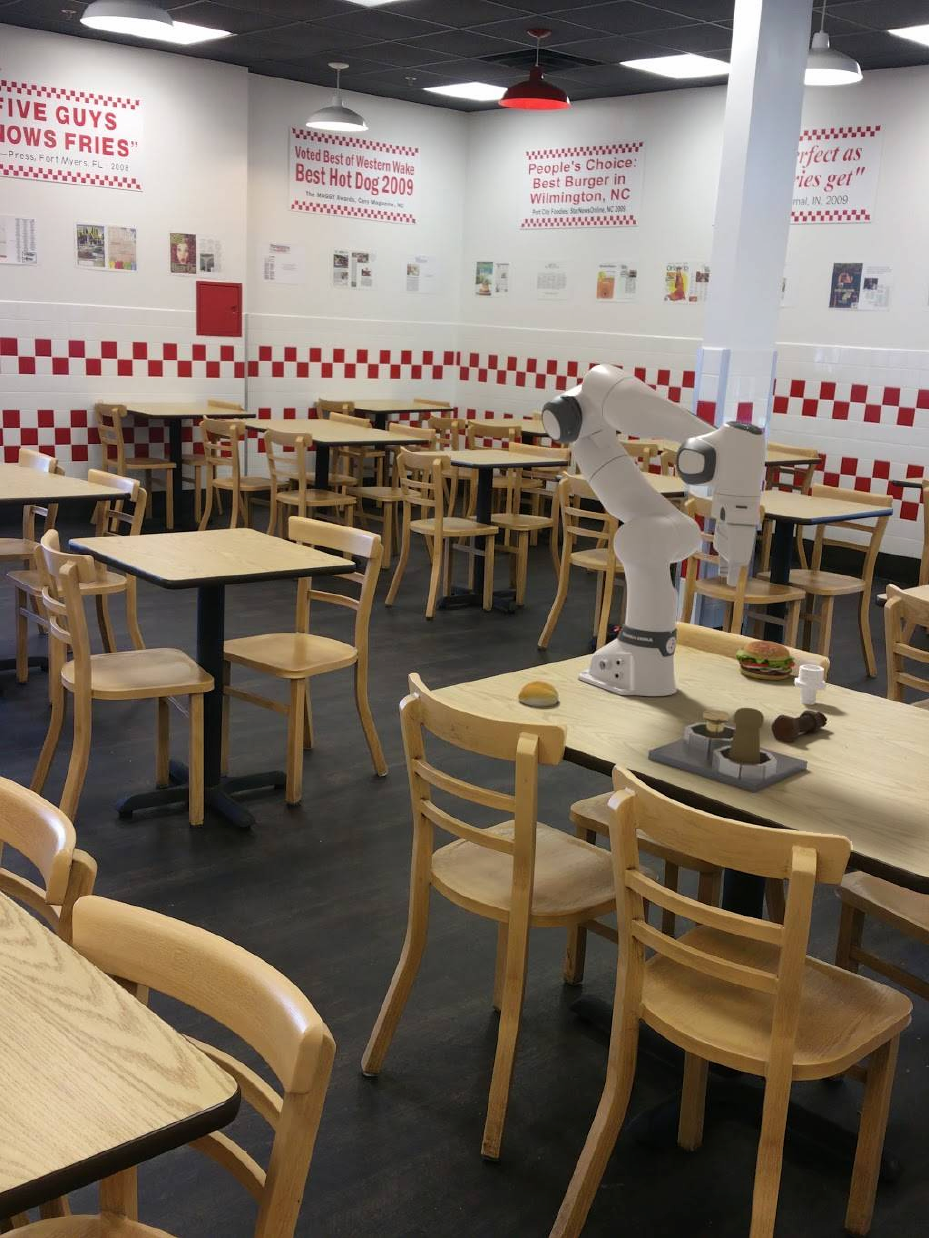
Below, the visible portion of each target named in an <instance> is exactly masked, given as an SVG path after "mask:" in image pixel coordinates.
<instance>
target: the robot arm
mask: <svg viewBox="0 0 929 1238" xmlns="http://www.w3.org/2000/svg"><path fill="white" fill-rule="evenodd" d="M540 417H541V423H542V426H543V429H544V431H545V432H546V434H547V435H548V437H549V438H550V439H551V440H552V441H553V442H555V443H557V444H558V445H559V444H560V445H563V444H571V443H572V445H571V453H572V456H573V458H574V460H575V463H576V465H577V467H578V469H579V470H580V473H581V474H582V477H584V479H585V481H586V483H587V484H588V485H589V487H590V488H591V490H592V491H593V492H594V494H595V496H596V497H597V499H599V501H600V503H601V504H602V506H603V507H604V509H605V510H606V512H607V513H608V514H609V515H611V516H613V517H614V518H616V519H617V520H619V521H621V522H622V523H624V524H621V525H620V526H619V527H618V529H617V530H616V532H615V533H614V536H613V542H612V543H613V545H612V547H613V551H614V554H615V556H616V557H617V559H618V560H619V561H620V562H621V564H622V567H623V571H624V574H625V579H626V589H627V592H626V593H627V594H626V595H627V597H626V611H625V620H624V621H625V622H623V623H620V625H617V626H614V628H616V629H614V633H615V632H618V634H617V637H616V638H615V639H613V640H612V641H610V642H609V643H607V644H605V645H604V646H603V647H601V648H599V649H597V650H596V651H595V652H594V653H593V654H592V656H591V658H590V659H591V660H590V663H589V666H588V667H589V668H587V669H584V670H582V671H581V672H579V673H578V677H577V679H578V680H581V681H583V682H584V683H585V682H586V683H588V684H591V685H594V686H596V687H599V688H602V689H605V690H607V691H610V692H612V693H615V694H618V695H620V696H645V697H664V696H671V695H673V694H676V693H677V692H678V689H677V685H676V677H675V662H674V660H675V659H674V658H675V655H674V654H675V652H676V648H677V647H676V646H677V638H678V629H677V626H676V624H677V617H678V616H677V615H678V608H679V607H678V604H679V594H678V591H677V589H676V588H675V587H674V585H673V582H672V576H671V570H670V567H671V564H674V563H679V562H682V561H684V560H685V559H687V558H689V557H691V556H692V555H694V554H695V553H696V552H697V551H698V549H699V548H700V545H701V542H702V531H701V528H700V525H699V524H698V522H697V521H696V520H695V519H694V518H692V517H690V516H689V515H687V514H685V513H684V512H682V511H680V510H679V509H678V508H677V507H676V506H675V505H674V504H673V503H672V502H671V501H669V500H668V499H667V498H666V497H665V496H664V495H663V494H662V493H660V492H659V491H658V490H657V489H656V488H655V487H654V486H653V485H652V484H651V483H650V481H649V480H648V478H647V477H646V476H645V475H644V473H643V472H642V471H641V469H640V468H639V466H638V465H637V464H636V462H635V460H634V459H633V458H632V456H631V455H630V454H629V453H628V451H627V450H626V449H625V448H624V446H623V445H622V444H621V442H620V440H619V439H618V435H617V431H618V432H620V433H622V434H624V435H627V436H630V437H634V438H639V439H651V440H652V439H655V440H665V441H670V442H675V443H679V444H680V446H679V447H678V449H677V452H676V456H675V468H676V472H677V475H678V476H679V478H680V480H681V481H683V482H684V483H685V484H686V485H691V486H694V487H713V490H712V491H713V492H712V500H711V501H712V502H711V510H710V516H711V517H712V518H715V519H716V520H715V527H714V534H713V542H712V543H713V544H712V545H713V549H714V550H715V552H717V553H718V574H717V575H718V576H719V577H721V578H726V585H728V586H729V587H737V586H738V583H739V578H740V577H739V576H740V573H741V570H742V566H744V567H745V566H746V567H747V566H748V565H749V563H750V561H751V559H752V553H753V548H754V544H755V537H756V526H759V525H760V523H761V513H760V507H761V506H760V505H761V499H762V498H761V497H762V490H761V479H762V478H763V475H764V471H765V462H766V439H765V438H766V437H765V433H764V431H763V429H761V428H760V427H759V426H757V425H755V424H753V423H748V422H743V421H738V420H732V421H726V422H724V423H723V424H722V425H721V426H720V427H717V426H716V425H714V424H712V423H711V422H708V421H707V420H705V419H704V418H702V417H700V416H699V415H697V414H695V413H693V412H691V411H690V410H688V409H685V408H684V407H682V406H680V405H679V404H678V403H676V402H674V400H673V401H672V400H671V399H669V398H668V397H666V396H664V395H663V394H661V393H660V392H659V391H657V390H656V389H654V388H652V387H651V386H650V385H649V384H647V383H646V382H644V381H642V380H641V379H640V378H639V377H637V376H635V375H634V374H631V372H628V371H626V370H624V369H623V368H620V367H617V366H615V365H613V364H612V365H611V364H608V363H601V364H599V365H598V364H597V365H595V366H594V367H592V368H590V369H589V370H588V371H587V372H586V374H585V375H584V377H583V380H582V382H581V383H579V384H578V385H576V386H574V387H572V388H570V389H568V390H566V391H565V392H562V393H561V394H560V395H559V394H558V395H555V396H553V397H552V398H551V399H549V400H548V401H547V402H546V403H545V404H544V405H543V406H542V410H541V416H540Z"/></svg>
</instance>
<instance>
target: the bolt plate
mask: <svg viewBox="0 0 929 1238" xmlns="http://www.w3.org/2000/svg"><path fill="white" fill-rule="evenodd" d="M702 718H703V719H704V720H705V721H706V722H695V723H692V724H688V725H686V726H685V727H684V733H683V738H681V739H678V740H674V741H672V742H670V743H667V744H664V745H662V746H659V747H656V748H653V749H649V750H648V755H647V759H648V760H652V761H654V762H657V763H660V764H663V765H667V766H670V767H674V768H676V769H678V770H682V771H685V772H688V773H692V774H695V775H698V776H701V777H704V778H708V779H710V780H713V781H717V782H720V783H724V784H726V785H730V786H733V787H735V788H739V789H742V790H746V791H747V792H752V793H757V792H759V791H761V790H763V789H766V788H768V787H770V786H773V785H775V784H777V783H779V782H781V781H784V780H785V779H789V778H790V777H792V776H795V775H796V774H799V773H801V772H803V771H805V770H807V767H808V761H807V760H806V759H805V760H804V759H801V758H797V757H794V756H790V755H787V754H784V753H780V752H778V751H777V752H776V751H773V750H769V749H765V748H763V747H760V764H748V763H739V762H736V761H733V760H729V759H728V756H729V752H730V748H731V744H732V740H733V736H734V732H735V728H736V727H733V726H729V725H725V723H728V722H729V721H730V713H728V712H727V711H723V710H717V709H706V710H704V711H703V716H702Z"/></svg>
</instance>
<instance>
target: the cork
mask: <svg viewBox="0 0 929 1238" xmlns="http://www.w3.org/2000/svg"><path fill="white" fill-rule="evenodd" d="M764 717H765V716H764V714H763V713H762V712H761V711H760V710H758V709H757V708H753V707H752V708H751V707H741V708H738V709H737V710H735V712H734V714H733V723H734V725H735V727H734V728H735V732H734V736H733V740H732V744H731V748H730V752H729V756H728V759H729V760H733V761H736V762H739V763H748V764H760V748H761V744H760V741H761V740H760V739H761V738H760V729H761V728H762V727H763V725H764V721H765V719H764Z"/></svg>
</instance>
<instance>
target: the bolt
mask: <svg viewBox="0 0 929 1238" xmlns="http://www.w3.org/2000/svg"><path fill="white" fill-rule="evenodd" d="M827 722H828V717H826V716H825V714H824V713H822V712H821V711H813V710H809V709H807V710H804V711H803V712H802V713H801V714H800V715H799V716H798V717H792V716H788V715H786V714H780V715H778V716H777V717H776V718H775V720H774V721H773V722H772V724H771V731H772V734H773V737H774V739H775V740H777V741H780V742H783V743H788V744H791V743H793V742H794V741H795V740H796V739H797V737H798V736H799V735H800V734H803V733H807V734H811V735H814V734H817V733H818V732H819V731H820V730H821V728H824V727H825V726H826V725H827Z"/></svg>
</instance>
